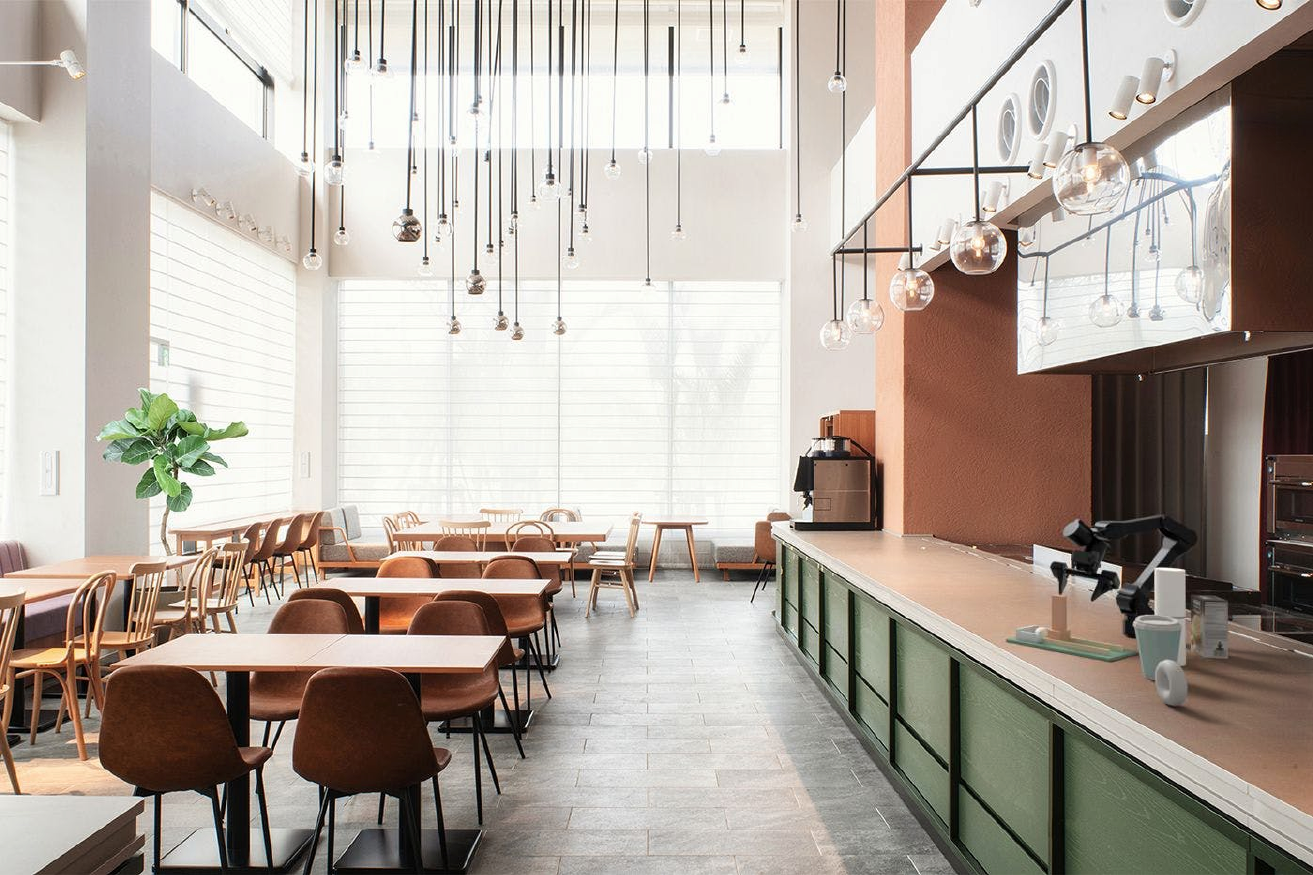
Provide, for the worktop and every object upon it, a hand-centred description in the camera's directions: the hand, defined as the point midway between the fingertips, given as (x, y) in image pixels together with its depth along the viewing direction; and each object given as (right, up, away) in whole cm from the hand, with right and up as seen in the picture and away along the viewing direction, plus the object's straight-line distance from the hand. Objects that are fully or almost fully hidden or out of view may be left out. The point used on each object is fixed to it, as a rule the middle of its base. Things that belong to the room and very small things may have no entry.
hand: (1075, 597), depth 253 cm
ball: (-11, -11, -1) cm, 15 cm away
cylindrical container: (+13, -13, -25) cm, 31 cm away
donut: (-10, -12, -64) cm, 66 cm away
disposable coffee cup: (0, -13, -41) cm, 43 cm away
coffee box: (+30, -13, -15) cm, 36 cm away
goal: (-11, -13, 0) cm, 17 cm away
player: (-7, -12, -5) cm, 15 cm away
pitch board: (-6, -13, -8) cm, 16 cm away
